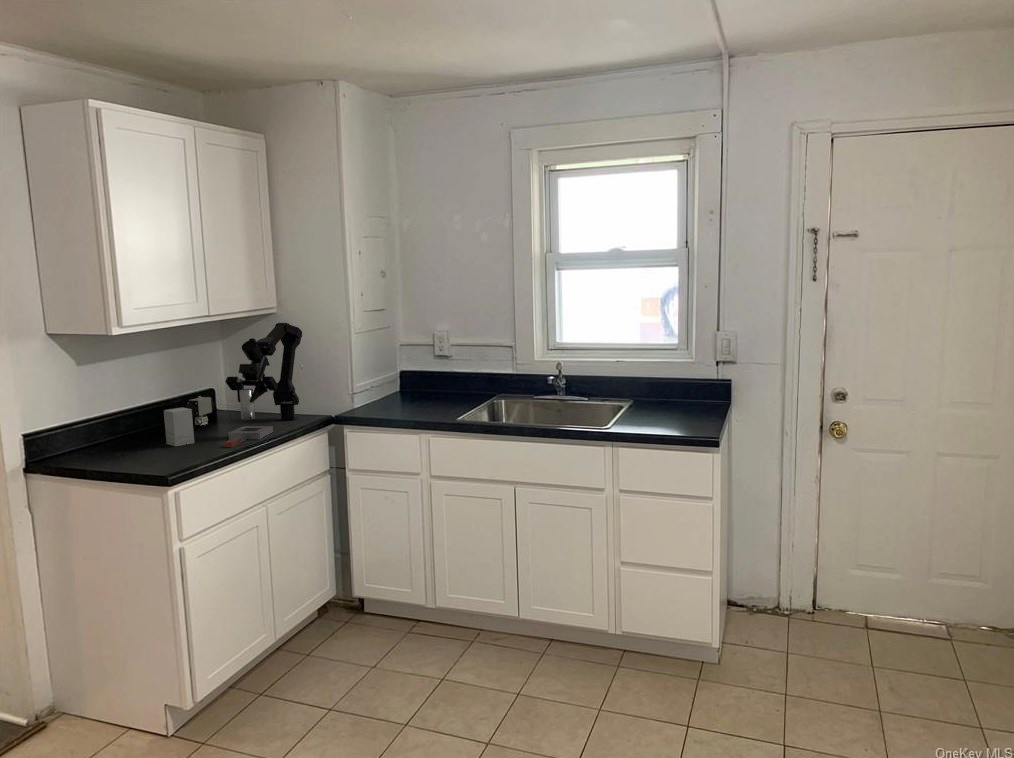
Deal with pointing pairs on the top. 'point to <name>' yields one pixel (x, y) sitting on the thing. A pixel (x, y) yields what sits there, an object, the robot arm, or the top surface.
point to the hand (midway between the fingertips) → (245, 401)
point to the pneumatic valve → (200, 408)
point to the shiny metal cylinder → (246, 404)
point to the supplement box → (179, 426)
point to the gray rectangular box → (247, 434)
